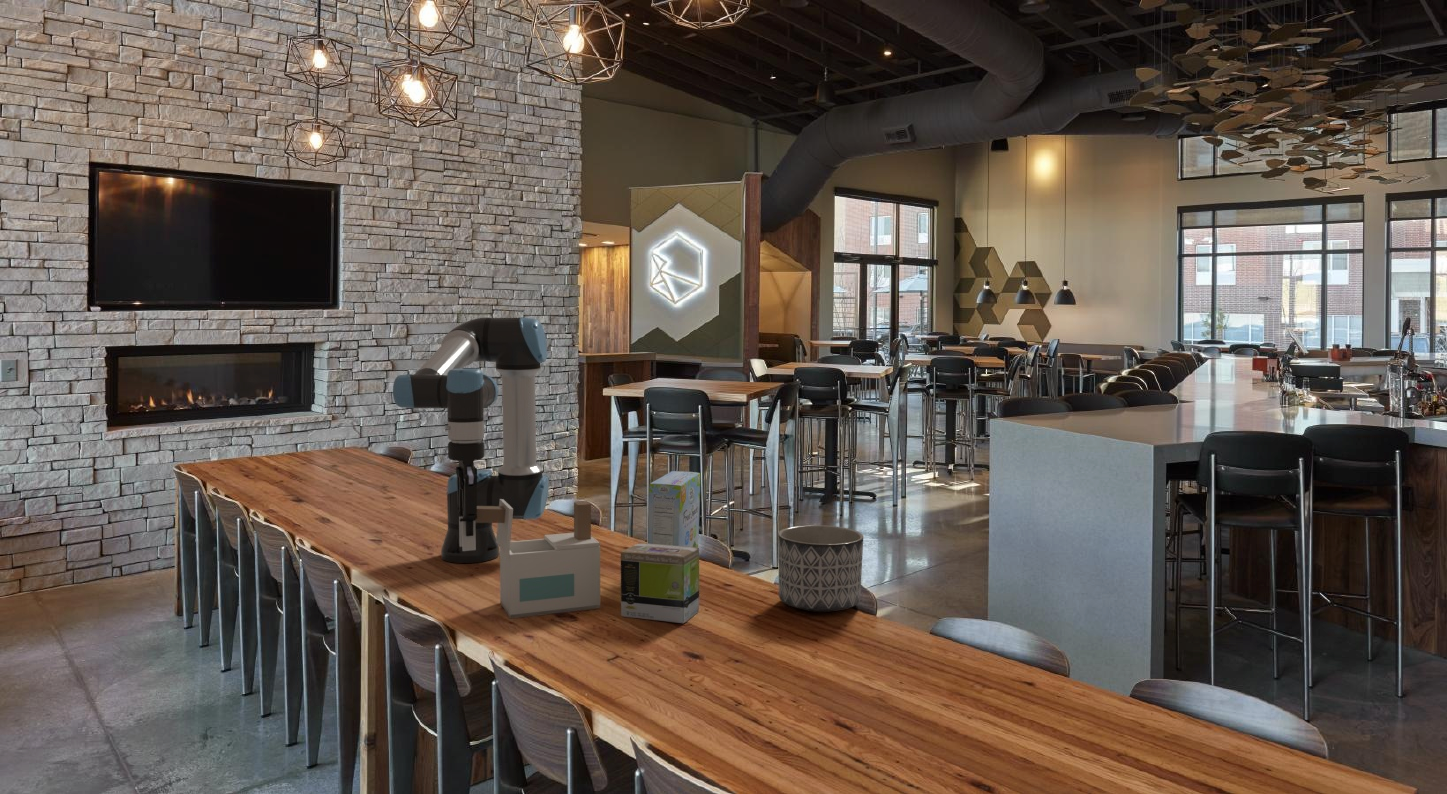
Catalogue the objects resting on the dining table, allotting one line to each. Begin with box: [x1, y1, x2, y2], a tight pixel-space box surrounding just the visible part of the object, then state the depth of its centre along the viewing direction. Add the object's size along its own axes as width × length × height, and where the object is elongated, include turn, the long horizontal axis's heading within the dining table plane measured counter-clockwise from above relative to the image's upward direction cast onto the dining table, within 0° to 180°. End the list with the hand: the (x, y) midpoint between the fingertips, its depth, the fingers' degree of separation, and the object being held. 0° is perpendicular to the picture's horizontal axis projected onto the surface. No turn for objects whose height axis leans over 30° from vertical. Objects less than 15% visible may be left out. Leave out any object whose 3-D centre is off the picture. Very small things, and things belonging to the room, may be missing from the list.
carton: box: [499, 500, 601, 620], centre depth 211 cm, size 12×20×23 cm, turn 114°
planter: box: [777, 524, 864, 613], centre depth 213 cm, size 19×19×16 cm
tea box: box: [620, 542, 700, 624], centre depth 206 cm, size 15×10×15 cm, turn 71°
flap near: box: [475, 499, 513, 554], centre depth 204 cm, size 12×10×9 cm
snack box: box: [647, 470, 701, 548], centre depth 234 cm, size 22×9×26 cm, turn 168°
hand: (467, 547), depth 203 cm, fingers closed on flap near, 3 cm apart
